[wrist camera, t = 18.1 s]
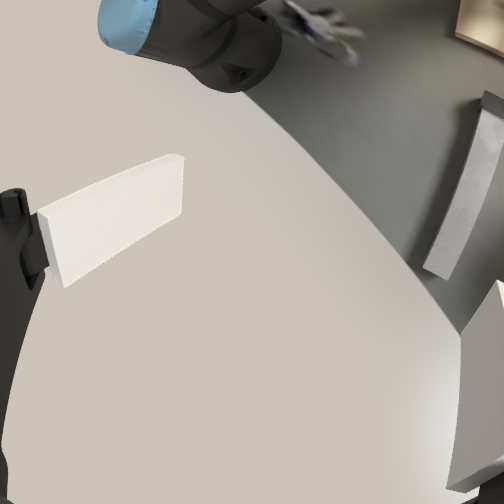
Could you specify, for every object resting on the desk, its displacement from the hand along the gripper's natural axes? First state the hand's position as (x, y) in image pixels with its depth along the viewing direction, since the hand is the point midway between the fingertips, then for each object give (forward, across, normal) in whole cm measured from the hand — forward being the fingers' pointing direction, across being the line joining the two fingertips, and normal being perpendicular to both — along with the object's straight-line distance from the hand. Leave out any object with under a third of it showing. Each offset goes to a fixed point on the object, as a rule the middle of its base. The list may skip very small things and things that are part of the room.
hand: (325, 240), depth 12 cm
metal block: (+29, +11, -2) cm, 31 cm away
